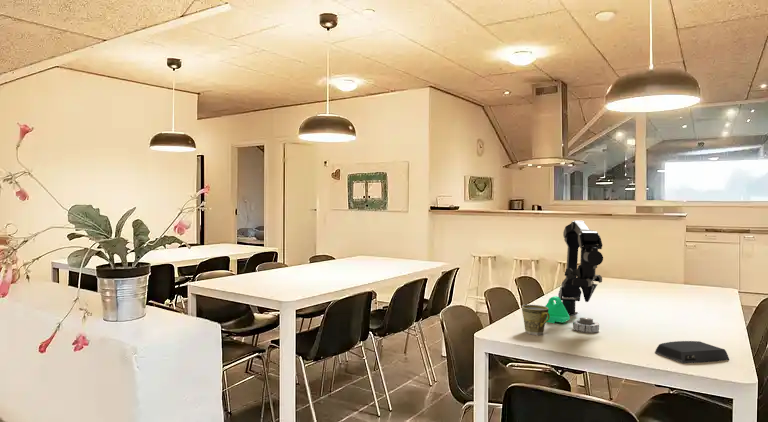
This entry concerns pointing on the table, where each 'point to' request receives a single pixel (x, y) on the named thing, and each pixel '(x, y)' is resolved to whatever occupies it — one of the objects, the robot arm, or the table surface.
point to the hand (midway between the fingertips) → (586, 301)
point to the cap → (586, 321)
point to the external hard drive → (691, 352)
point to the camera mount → (557, 311)
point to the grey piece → (586, 327)
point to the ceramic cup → (535, 318)
